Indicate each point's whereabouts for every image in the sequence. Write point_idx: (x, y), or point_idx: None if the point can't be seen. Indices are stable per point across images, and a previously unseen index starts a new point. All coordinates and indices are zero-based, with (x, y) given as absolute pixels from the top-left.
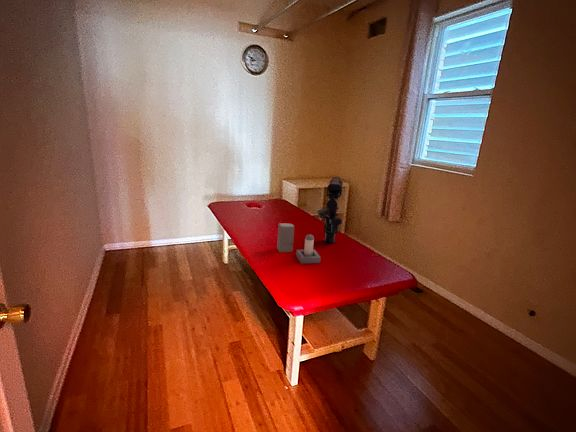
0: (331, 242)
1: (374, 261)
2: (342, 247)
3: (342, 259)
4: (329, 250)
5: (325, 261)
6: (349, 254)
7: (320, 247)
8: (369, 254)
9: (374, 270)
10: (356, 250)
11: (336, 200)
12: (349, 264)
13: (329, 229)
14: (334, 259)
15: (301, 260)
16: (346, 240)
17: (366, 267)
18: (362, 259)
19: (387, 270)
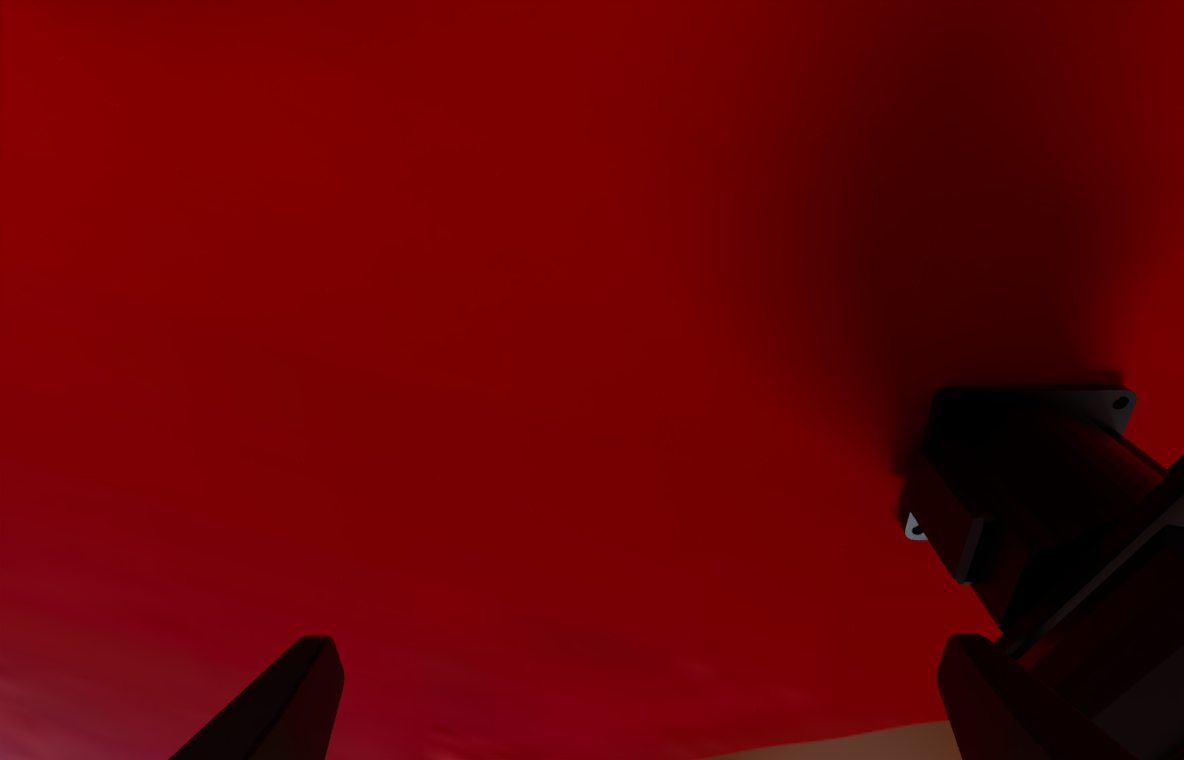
0: (911, 473)
1: None
2: (714, 561)
3: (269, 430)
4: (618, 343)
5: (112, 116)
6: (461, 568)
7: (778, 216)
8: (472, 747)
9: (33, 657)
10: (593, 676)
11: None
12: (113, 466)
13: (1096, 636)
14: (243, 311)
15: None
16: None
17: (87, 614)
18: None
19: (82, 750)
